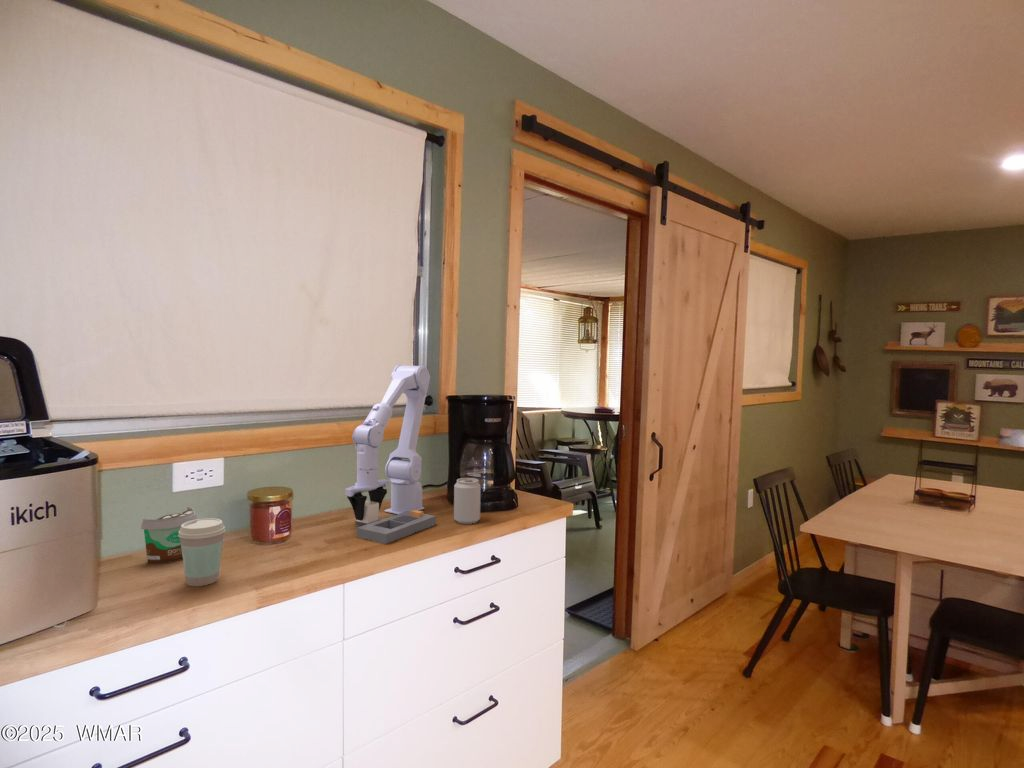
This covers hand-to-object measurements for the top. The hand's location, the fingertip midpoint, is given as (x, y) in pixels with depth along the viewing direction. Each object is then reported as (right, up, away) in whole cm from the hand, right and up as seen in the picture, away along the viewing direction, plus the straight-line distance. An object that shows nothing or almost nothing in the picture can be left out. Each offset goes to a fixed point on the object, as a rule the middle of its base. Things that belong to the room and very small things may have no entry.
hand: (367, 517), depth 161 cm
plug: (0, -2, 0) cm, 2 cm away
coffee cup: (-23, -4, -42) cm, 48 cm away
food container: (-36, -3, -28) cm, 46 cm away
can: (+27, -3, +5) cm, 28 cm away
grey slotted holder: (+9, -2, -5) cm, 11 cm away
